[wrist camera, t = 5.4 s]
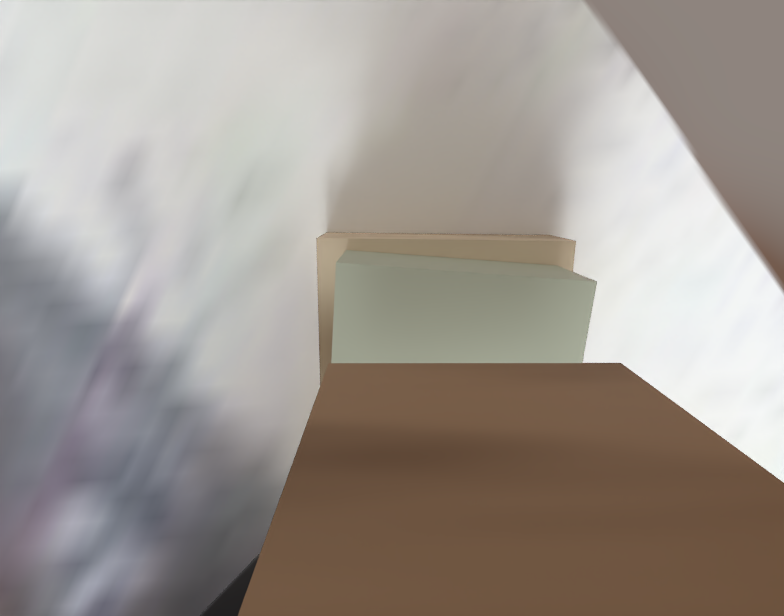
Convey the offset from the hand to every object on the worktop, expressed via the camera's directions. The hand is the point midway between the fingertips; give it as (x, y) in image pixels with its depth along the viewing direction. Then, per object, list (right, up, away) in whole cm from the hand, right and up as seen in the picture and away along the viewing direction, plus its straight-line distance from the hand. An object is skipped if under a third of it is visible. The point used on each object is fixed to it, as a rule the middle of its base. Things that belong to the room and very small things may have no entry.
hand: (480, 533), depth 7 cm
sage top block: (0, +2, +8) cm, 9 cm away
